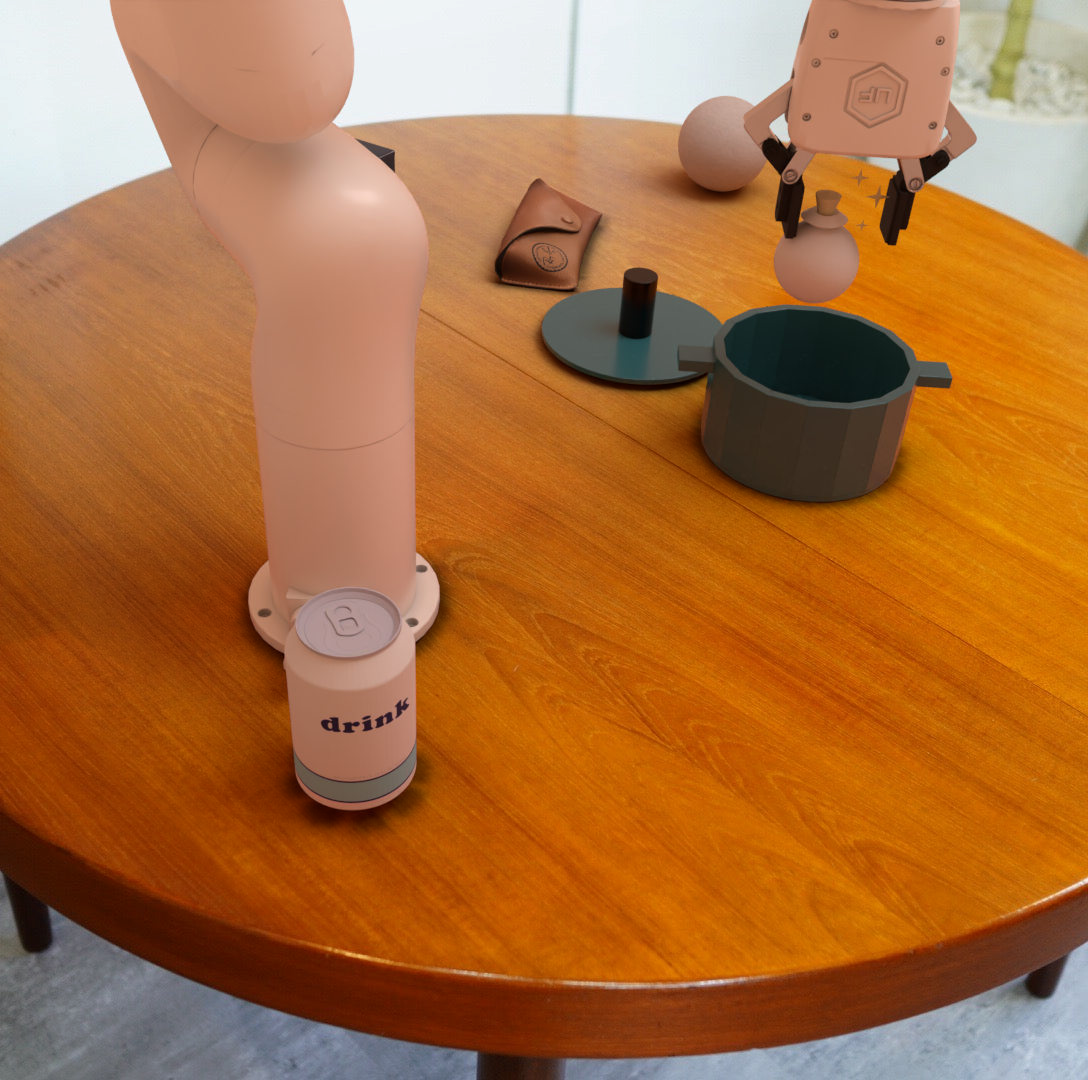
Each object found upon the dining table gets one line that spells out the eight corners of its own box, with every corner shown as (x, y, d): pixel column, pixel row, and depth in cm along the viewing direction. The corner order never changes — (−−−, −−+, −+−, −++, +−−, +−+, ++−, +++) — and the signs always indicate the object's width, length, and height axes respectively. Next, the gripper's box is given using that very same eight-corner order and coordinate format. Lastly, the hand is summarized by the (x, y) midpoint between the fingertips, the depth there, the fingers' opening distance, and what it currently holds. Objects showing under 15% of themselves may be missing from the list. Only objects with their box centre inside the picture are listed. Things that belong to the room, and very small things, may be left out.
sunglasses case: (582, 288, 125) (549, 227, 121) (517, 314, 127) (484, 256, 124) (605, 211, 139) (576, 155, 136) (546, 236, 142) (517, 182, 138)
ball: (780, 189, 147) (795, 100, 141) (728, 214, 141) (742, 123, 135) (707, 162, 152) (719, 76, 146) (655, 186, 146) (664, 96, 140)
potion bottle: (761, 278, 99) (781, 150, 93) (858, 279, 100) (885, 152, 93) (776, 318, 94) (799, 185, 88) (878, 319, 95) (908, 187, 89)
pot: (946, 511, 100) (974, 416, 95) (671, 492, 100) (684, 397, 95) (909, 402, 113) (932, 313, 107) (664, 386, 113) (675, 296, 107)
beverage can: (315, 836, 73) (302, 680, 65) (282, 750, 78) (267, 595, 70) (433, 802, 75) (433, 647, 68) (394, 720, 80) (390, 567, 73)
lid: (733, 397, 112) (745, 328, 108) (537, 384, 112) (541, 314, 108) (720, 303, 125) (729, 239, 121) (544, 292, 125) (548, 227, 121)
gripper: (759, -24, 80) (719, 249, 91) (1044, -5, 80) (970, 266, 91) (749, -56, 86) (713, 204, 97) (1014, -38, 86) (948, 219, 97)
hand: (838, 231), depth 94 cm, fingers closed on potion bottle, 6 cm apart
